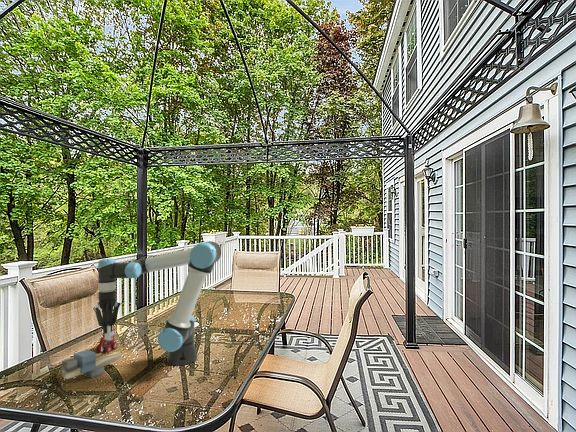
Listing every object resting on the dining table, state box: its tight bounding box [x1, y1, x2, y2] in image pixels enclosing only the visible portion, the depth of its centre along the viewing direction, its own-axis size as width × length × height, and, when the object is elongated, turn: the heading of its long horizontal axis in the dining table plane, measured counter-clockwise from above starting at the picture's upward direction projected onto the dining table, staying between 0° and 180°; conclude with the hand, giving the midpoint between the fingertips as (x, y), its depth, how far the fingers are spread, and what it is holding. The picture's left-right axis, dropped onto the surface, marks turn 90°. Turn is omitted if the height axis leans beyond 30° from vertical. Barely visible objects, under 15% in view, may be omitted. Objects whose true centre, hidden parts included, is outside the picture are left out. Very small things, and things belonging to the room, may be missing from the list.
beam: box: [61, 351, 123, 380], centre depth 166 cm, size 7×26×10 cm, turn 149°
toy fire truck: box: [95, 329, 118, 354], centre depth 196 cm, size 7×12×10 cm, turn 172°
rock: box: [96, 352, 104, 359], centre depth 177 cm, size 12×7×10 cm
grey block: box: [73, 349, 97, 373], centre depth 162 cm, size 7×6×7 cm
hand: (107, 339), depth 171 cm, fingers closed
